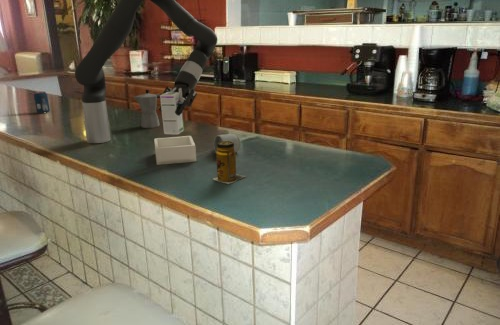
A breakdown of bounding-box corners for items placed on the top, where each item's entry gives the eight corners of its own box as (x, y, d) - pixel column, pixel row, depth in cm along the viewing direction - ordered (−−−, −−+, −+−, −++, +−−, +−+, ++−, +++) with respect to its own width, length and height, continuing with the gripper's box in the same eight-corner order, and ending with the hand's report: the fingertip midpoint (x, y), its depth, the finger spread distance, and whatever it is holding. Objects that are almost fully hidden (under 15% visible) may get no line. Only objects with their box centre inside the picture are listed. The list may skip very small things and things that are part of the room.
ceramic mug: (241, 153, 152) (241, 133, 149) (224, 157, 147) (223, 137, 145) (226, 147, 160) (226, 129, 158) (209, 151, 155) (208, 132, 153)
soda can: (42, 111, 235) (38, 91, 231) (52, 111, 234) (49, 91, 230) (34, 113, 228) (30, 93, 225) (45, 114, 228) (41, 93, 224)
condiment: (211, 179, 126) (209, 143, 122) (229, 172, 132) (228, 137, 128) (228, 184, 121) (227, 147, 118) (246, 177, 128) (245, 141, 124)
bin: (156, 164, 140) (155, 148, 138) (155, 153, 153) (154, 138, 151) (196, 161, 143) (195, 145, 141) (191, 150, 156) (191, 135, 154)
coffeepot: (138, 129, 190) (134, 91, 184) (135, 125, 198) (131, 89, 192) (170, 126, 196) (167, 89, 190) (166, 122, 204) (163, 87, 198)
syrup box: (178, 134, 142) (175, 94, 137) (163, 134, 143) (159, 94, 138) (184, 130, 147) (181, 91, 142) (169, 130, 148) (166, 91, 144)
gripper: (169, 69, 148) (148, 105, 142) (198, 70, 140) (178, 109, 135) (180, 81, 153) (160, 117, 148) (208, 84, 146) (189, 121, 141)
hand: (169, 113), depth 141 cm, fingers closed on syrup box, 7 cm apart
